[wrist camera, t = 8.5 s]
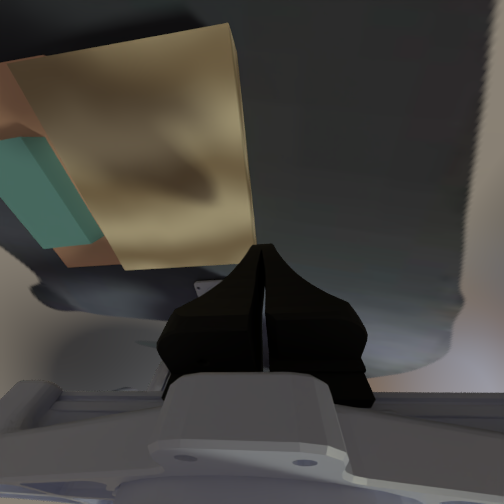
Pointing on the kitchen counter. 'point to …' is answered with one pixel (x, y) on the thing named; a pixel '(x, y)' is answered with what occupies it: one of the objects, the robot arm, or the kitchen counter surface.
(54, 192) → the teal rectangular block
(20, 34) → the kitchen counter surface
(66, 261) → the terracotta mat
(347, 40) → the kitchen counter surface
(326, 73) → the kitchen counter surface
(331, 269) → the kitchen counter surface
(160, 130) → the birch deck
